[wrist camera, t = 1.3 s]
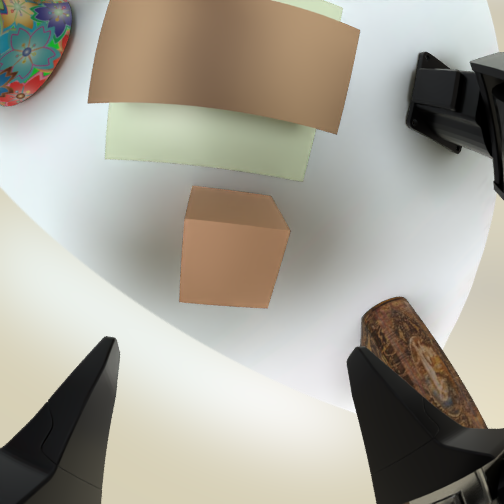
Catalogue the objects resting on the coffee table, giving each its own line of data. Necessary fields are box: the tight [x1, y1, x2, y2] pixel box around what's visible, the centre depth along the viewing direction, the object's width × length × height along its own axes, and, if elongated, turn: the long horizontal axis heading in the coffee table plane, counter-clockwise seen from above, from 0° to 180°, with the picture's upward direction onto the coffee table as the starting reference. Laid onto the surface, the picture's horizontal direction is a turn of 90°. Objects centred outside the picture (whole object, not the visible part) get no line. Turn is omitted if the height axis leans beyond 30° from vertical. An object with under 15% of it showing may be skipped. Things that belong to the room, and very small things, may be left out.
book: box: [361, 297, 488, 504], centre depth 18 cm, size 16×6×25 cm, turn 16°
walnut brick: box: [88, 0, 360, 135], centre depth 10 cm, size 10×5×5 cm, turn 79°
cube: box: [179, 186, 290, 308], centre depth 16 cm, size 5×5×5 cm
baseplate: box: [105, 0, 343, 182], centre depth 12 cm, size 12×12×1 cm
